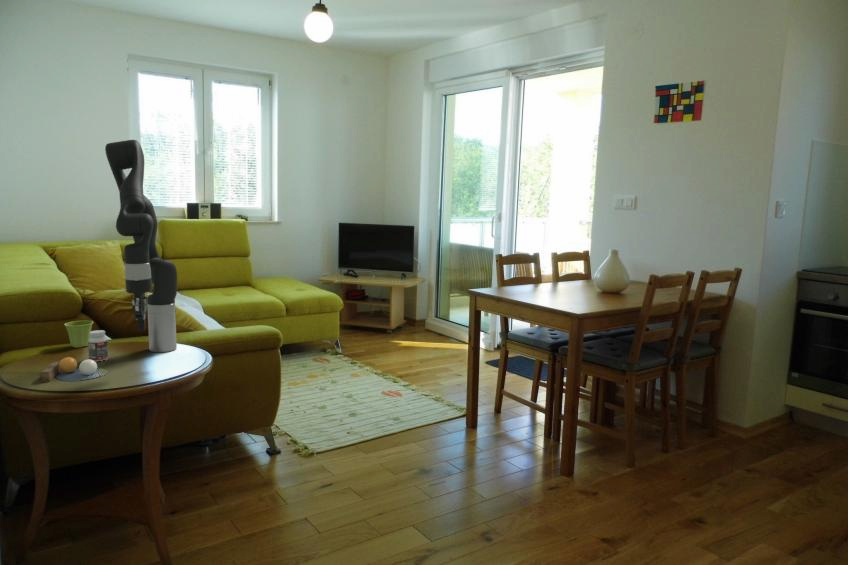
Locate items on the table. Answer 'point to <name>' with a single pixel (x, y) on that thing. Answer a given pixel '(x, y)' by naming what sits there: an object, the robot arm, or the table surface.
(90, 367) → the cue ball
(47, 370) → the stopper wall
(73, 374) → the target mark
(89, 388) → the table surface
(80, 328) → the plant pot
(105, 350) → the pill bottle
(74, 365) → the object ball
